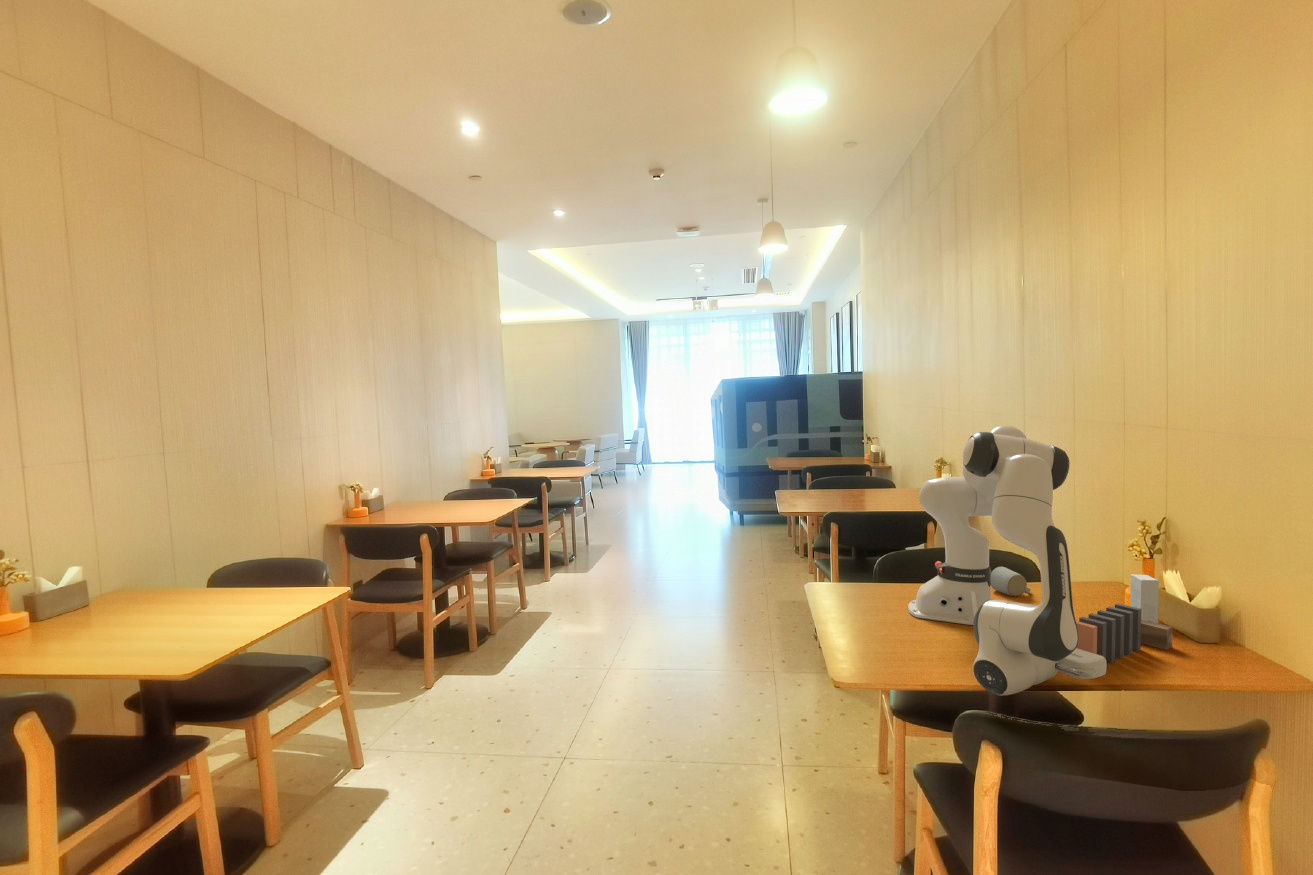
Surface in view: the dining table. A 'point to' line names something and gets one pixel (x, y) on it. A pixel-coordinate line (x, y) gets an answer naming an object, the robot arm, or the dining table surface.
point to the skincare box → (1145, 596)
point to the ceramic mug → (1008, 582)
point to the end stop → (1156, 635)
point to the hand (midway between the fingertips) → (1068, 644)
